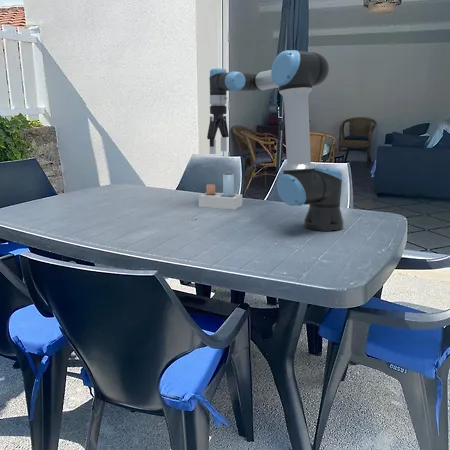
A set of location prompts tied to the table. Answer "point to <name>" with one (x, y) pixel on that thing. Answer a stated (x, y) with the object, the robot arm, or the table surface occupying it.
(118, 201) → the table surface
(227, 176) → the cartridge
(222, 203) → the housing
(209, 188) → the plunger
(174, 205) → the table surface
